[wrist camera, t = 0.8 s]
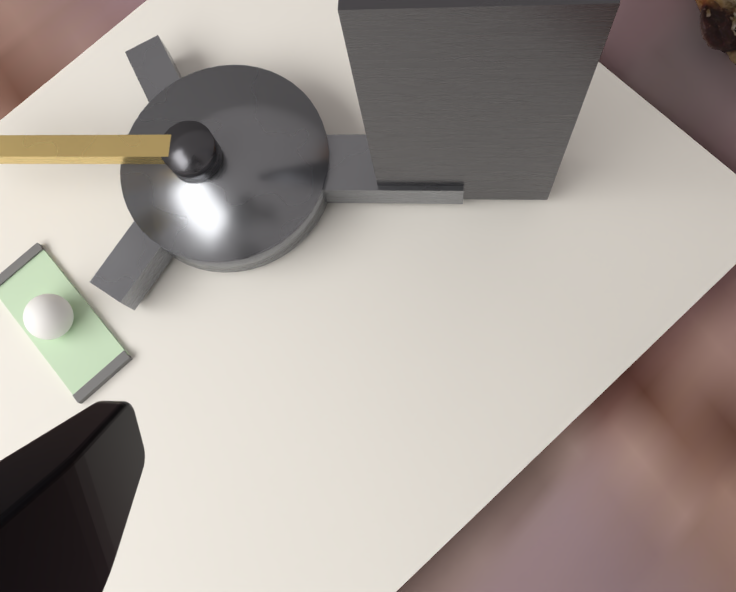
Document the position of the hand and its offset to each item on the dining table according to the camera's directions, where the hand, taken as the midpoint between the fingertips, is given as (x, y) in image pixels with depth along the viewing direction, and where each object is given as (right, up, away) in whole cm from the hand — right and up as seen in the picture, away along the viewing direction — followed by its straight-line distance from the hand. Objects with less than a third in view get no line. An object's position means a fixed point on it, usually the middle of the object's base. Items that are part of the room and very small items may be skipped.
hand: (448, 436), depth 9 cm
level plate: (-3, +4, +14) cm, 15 cm away
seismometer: (-6, +6, +14) cm, 16 cm away
